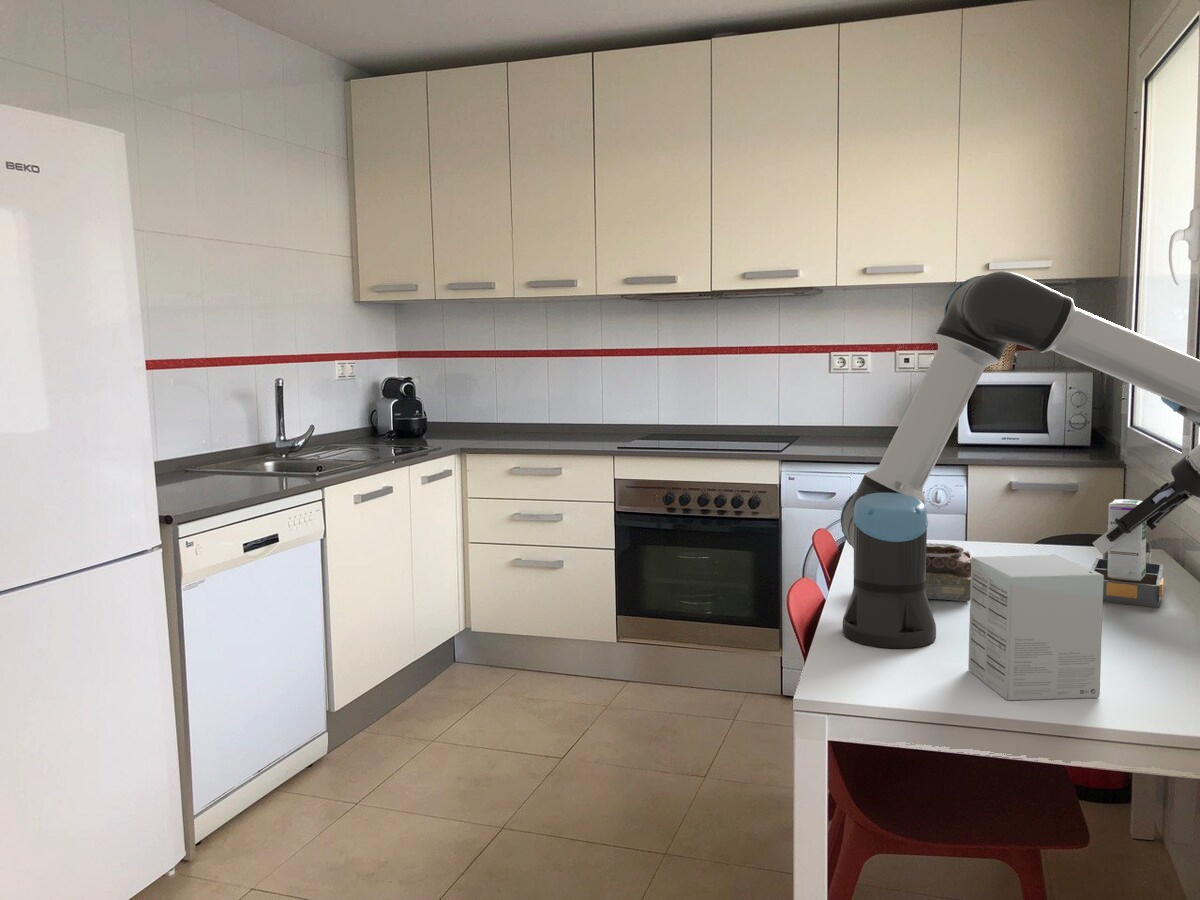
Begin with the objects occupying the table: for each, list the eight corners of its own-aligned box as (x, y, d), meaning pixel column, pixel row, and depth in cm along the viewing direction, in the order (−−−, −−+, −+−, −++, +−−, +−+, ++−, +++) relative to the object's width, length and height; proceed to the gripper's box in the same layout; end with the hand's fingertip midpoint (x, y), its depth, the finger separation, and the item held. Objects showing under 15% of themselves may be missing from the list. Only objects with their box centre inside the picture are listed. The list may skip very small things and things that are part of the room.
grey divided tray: (1161, 608, 173) (1162, 587, 173) (1085, 600, 180) (1085, 579, 179) (1165, 584, 190) (1166, 564, 190) (1095, 577, 197) (1096, 558, 196)
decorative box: (974, 611, 174) (975, 559, 172) (862, 602, 182) (862, 552, 180) (977, 594, 186) (978, 545, 184) (871, 585, 194) (872, 539, 192)
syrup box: (1141, 581, 177) (1144, 504, 175) (1105, 577, 180) (1108, 502, 179) (1145, 575, 181) (1148, 500, 180) (1111, 571, 185) (1113, 498, 183)
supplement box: (1052, 667, 143) (1056, 553, 142) (1101, 698, 130) (1106, 574, 128) (966, 669, 143) (968, 555, 141) (1006, 701, 130) (1009, 576, 128)
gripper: (1197, 491, 161) (1096, 569, 175) (1242, 479, 172) (1144, 553, 187) (1165, 458, 164) (1068, 537, 179) (1211, 448, 176) (1117, 523, 191)
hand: (1107, 545), depth 183 cm, fingers closed on syrup box, 7 cm apart
